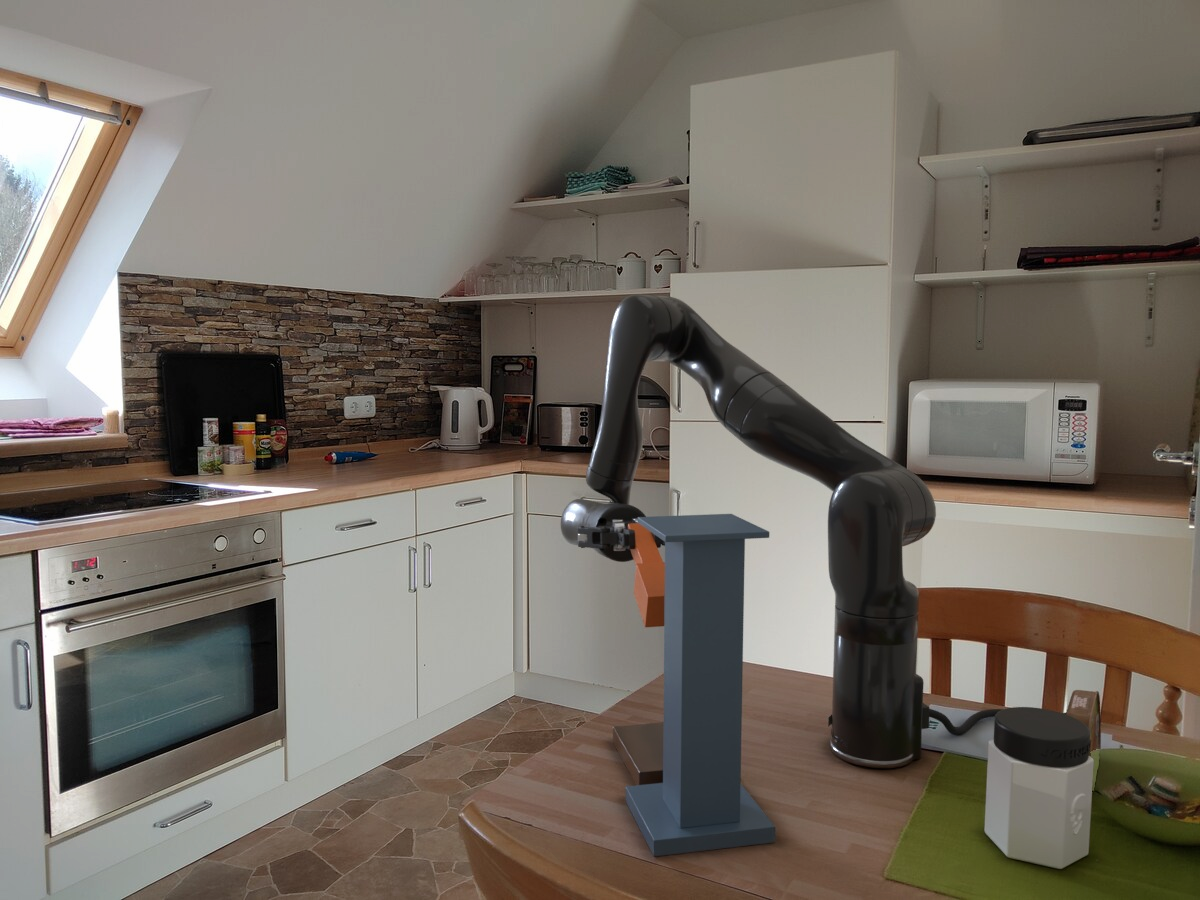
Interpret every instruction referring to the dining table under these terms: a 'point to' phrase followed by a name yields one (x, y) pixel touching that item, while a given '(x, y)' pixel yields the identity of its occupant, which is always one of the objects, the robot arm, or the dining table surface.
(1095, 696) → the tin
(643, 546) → the orange toy mallet
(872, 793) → the dining table surface
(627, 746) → the pad
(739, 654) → the stand
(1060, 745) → the jar
